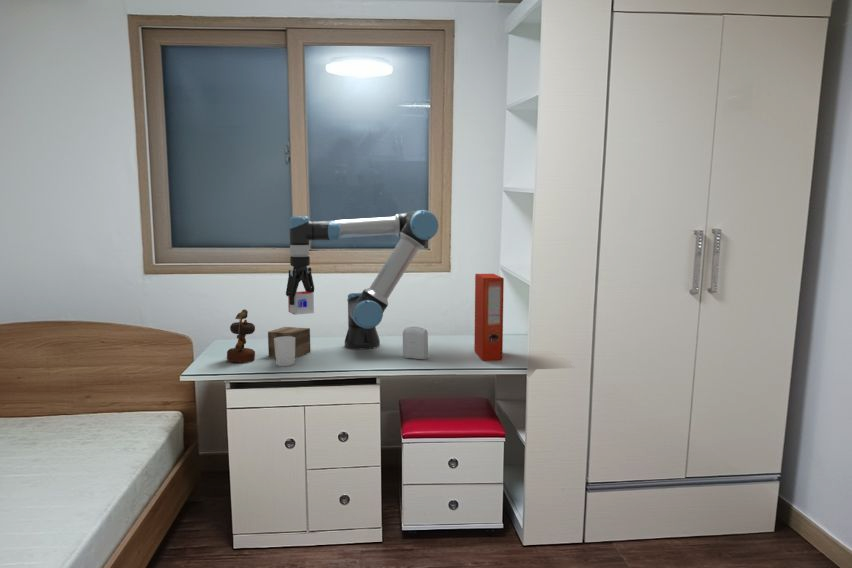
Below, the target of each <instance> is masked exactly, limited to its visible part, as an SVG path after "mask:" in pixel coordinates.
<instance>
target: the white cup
mask: <svg viewBox="0 0 852 568" xmlns="http://www.w3.org/2000/svg"><path fill="white" fill-rule="evenodd" d="M274 345H275V356H276V357H275V362H276V365H277V366H279V367H290V366H294V365H295V364H296V363H295V361H296V358H295V337H291V336H283V337H277V338H274Z"/></svg>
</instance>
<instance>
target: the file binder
mask: <svg viewBox="0 0 852 568" xmlns="http://www.w3.org/2000/svg"><path fill="white" fill-rule="evenodd" d="M474 276H475V277H474V280H475V281H474V283H475V284H474V288H475V289H474V344H473V345H474V347H473V349H474V352H475V353H476V355H477V356H478V357H479V358H480V360H481V361H483V362H488V361H489V362H492V361H495V362H497V361H502V360H503V350H504V349H503V347H504V346H503V345H504V344H503V341H504V339H503V337H504V336H503V335H504V334H503V332H504V289H505V288H504V284H505V283H504V282H505V281H504V279H505V278H504V277H501V276H500V275H498V274H495V273H475V275H474Z"/></svg>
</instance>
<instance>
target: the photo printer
mask: <svg viewBox="0 0 852 568" xmlns="http://www.w3.org/2000/svg"><path fill="white" fill-rule="evenodd" d="M402 356H403V358H404V359H416V360H427V359H428V358H429V335H428V330H427V329H426V328H423V327H419V326H409V327H405V328H404V329H403V330H402Z"/></svg>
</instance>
